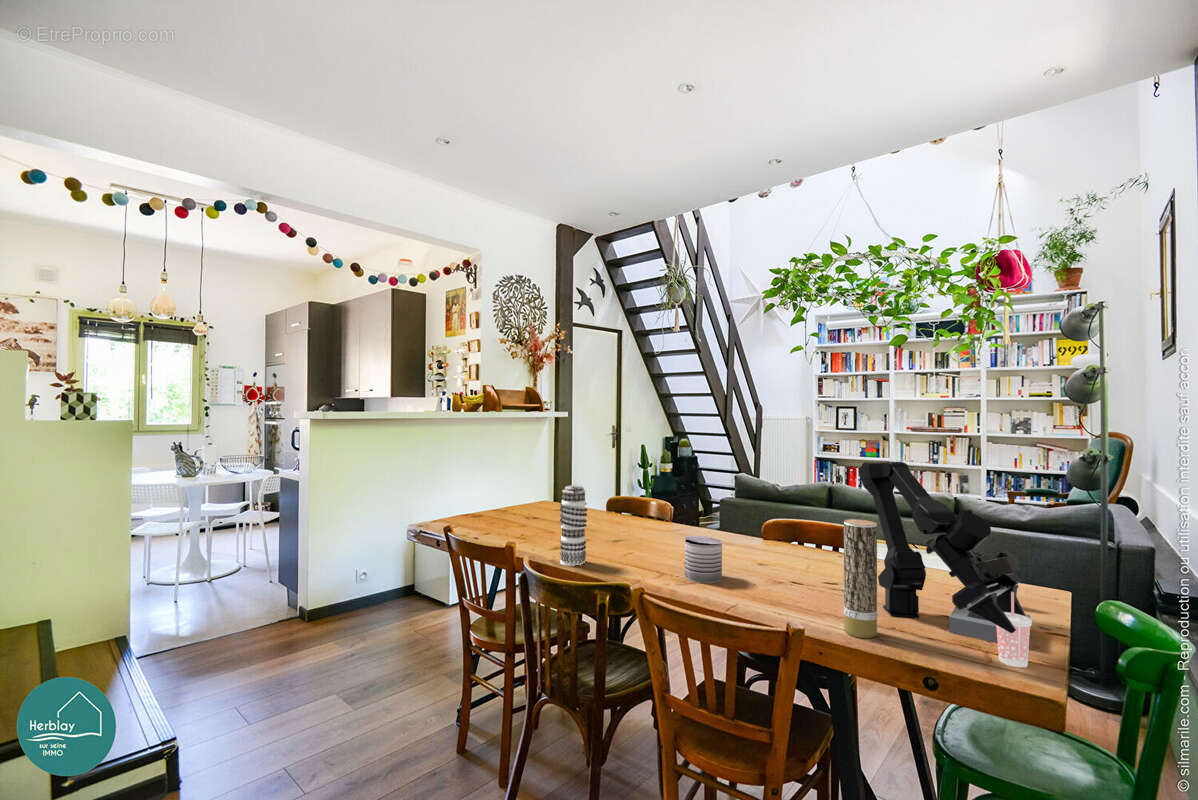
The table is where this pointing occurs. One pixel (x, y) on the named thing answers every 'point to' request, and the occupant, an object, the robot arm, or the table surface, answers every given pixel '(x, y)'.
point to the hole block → (972, 625)
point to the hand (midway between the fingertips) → (1021, 628)
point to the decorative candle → (573, 526)
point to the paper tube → (860, 578)
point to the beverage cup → (1014, 639)
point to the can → (703, 559)
